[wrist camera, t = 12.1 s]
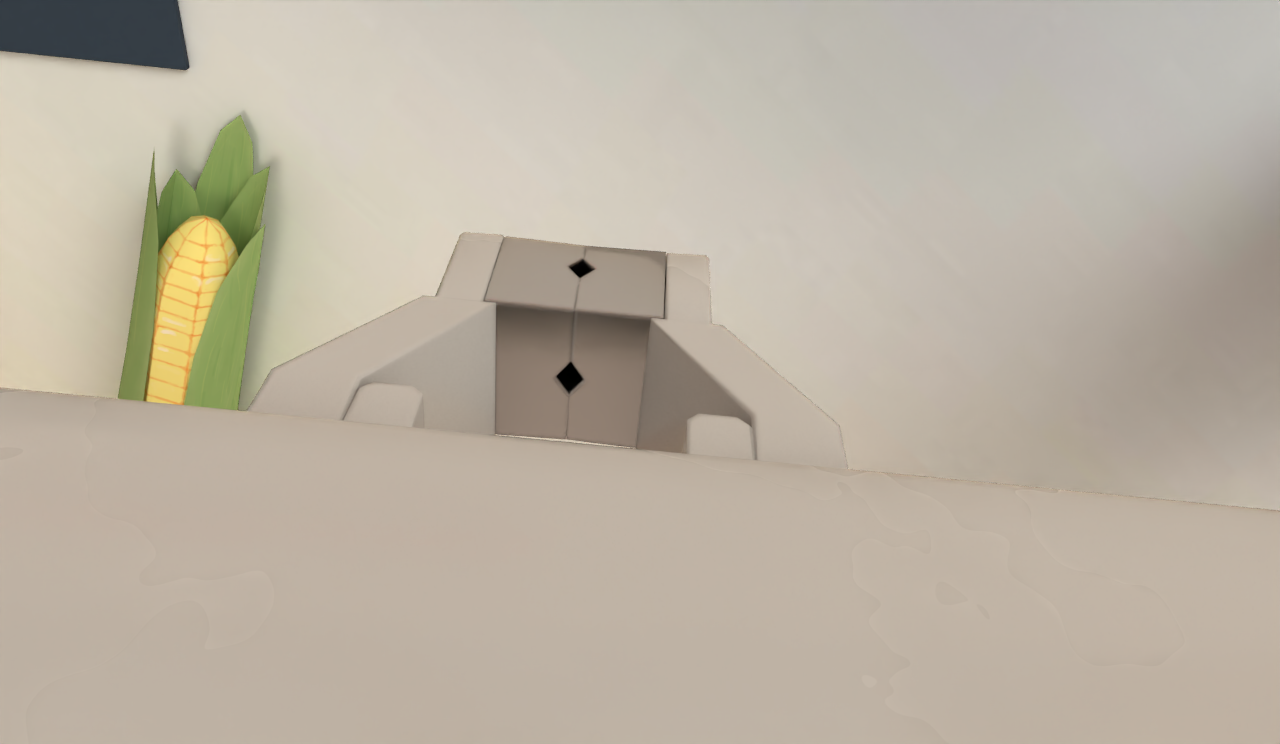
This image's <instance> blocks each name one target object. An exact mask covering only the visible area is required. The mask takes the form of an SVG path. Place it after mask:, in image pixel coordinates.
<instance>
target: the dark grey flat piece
mask: <svg viewBox="0 0 1280 744" xmlns="http://www.w3.org/2000/svg"><path fill="white" fill-rule="evenodd" d="M0 51H9V52H18V53H28V54H37V55H47V56H56V57H66V58H75V59H85V60H94V61H104V62H114V63H123V64H133V65H142V66H152V67H161V68H171V69H180V70H187V69H188V68H189V63H188V58H187V52H186V46H185V41H184V35H183V30H182V24H181V18H180V13H179V7H178V2H177V0H0Z"/></svg>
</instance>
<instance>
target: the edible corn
mask: <svg viewBox="0 0 1280 744" xmlns="http://www.w3.org/2000/svg"><path fill="white" fill-rule="evenodd" d="M269 168H270V166H269V167H268V168H266V169H264V170H262V171H260V172H259V173H257V174H255V175H253V147H252V141H251V139H250V136H249V134H248V132H247V129H246V127H245V125H244V122H243V120H242V118H241V115H240V116H238V117H237V118H236V119H234V120H233V121H232V122H231V123H229V124H228V125H227V126H225V127H224V128H223V129H222V130H221V131H220V133H219V135H218V138H217V140H216V142H215V144H214V147H213V149H212V151H211V153H210V156H209V158H208V160H207V163H206V165H205V167H204V169H203V172H202V174H201V176H200V178H199V181H198V184H197V187H196V190H195V191H194V189H193V188H192V187H191V185H190V184H189V183H188V182H187V181H186V179H185V178H184V177H183V176H182V175H181V173H180V172H179V171H178V170H177V169H176V171H175V172H174V174H173V175H172V177H171V178H170V180H169V182H168V183H167V185H166V186H165V188H164V189H163V191H162V193H161V197H160V201H159V206H158V207H157V195H156V183H155V172H154V153H153V160H152V168H151V176H150V183H149V191H148V198H147V206H146V214H145V221H144V229H143V237H142V244H141V252H140V259H139V267H138V273H137V280H136V287H135V294H134V301H133V307H132V314H131V321H130V328H129V335H128V341H127V348H126V354H125V360H124V366H123V371H122V377H121V382H120V388H119V394H118V399H126V400H137V401H147V402H157V403H168V404H178V405H188V406H199V407H209V408H219V409H230V410H238V404H239V397H240V389H241V382H242V374H243V367H244V360H245V351H246V344H247V337H248V330H249V323H250V317H251V311H252V304H253V298H254V292H255V286H256V281H257V276H258V271H259V264H260V256H261V248H262V242H263V236H264V229H265V224H264V226H263V227H262V228H261V229H260V224H261V218H262V212H263V206H264V199H265V193H266V187H267V181H268V175H269Z"/></svg>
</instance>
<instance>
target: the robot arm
mask: <svg viewBox="0 0 1280 744" xmlns="http://www.w3.org/2000/svg"><path fill="white" fill-rule="evenodd" d="M495 434H498V435H495ZM499 435H513V436H527V437H541V438H555V439H568V440H576V441H584V442H592V443H600V444H609V445H617V446H625V447H633V448H636V449H633V448H623V447H613V446H602V445H592V444H582V443H571V442H561V441H550V440H540V439H530V438H519V437H509V436H499ZM0 744H1280V511H1279V510H1269V509H1258V508H1248V507H1238V506H1227V505H1217V504H1206V503H1196V502H1186V501H1175V500H1165V499H1154V498H1144V497H1134V496H1123V495H1113V494H1102V493H1092V492H1081V491H1071V490H1061V489H1050V488H1040V487H1029V486H1019V485H1009V484H998V483H988V482H977V481H967V480H957V479H946V478H936V477H925V476H915V475H904V474H894V473H884V472H873V471H863V470H852V469H848V465H847V460H846V455H845V450H844V445H843V440H842V435H841V431H840V426H839V425H838V424H837V423H836V422H835V421H834V420H833V419H831V418H830V417H829V416H828V415H827V414H826V413H824V412H823V411H822V410H821V409H820V408H819V407H817V406H816V405H815V404H814V403H813V402H812V401H810V400H809V399H808V398H807V397H806V396H805V395H803V394H802V393H801V392H800V391H799V390H798V389H796V388H795V387H794V386H793V385H792V384H791V383H790V382H788V381H787V380H786V379H785V378H784V377H783V376H781V375H780V374H779V373H778V372H777V371H776V370H774V369H773V368H772V367H771V366H770V365H769V364H767V363H766V362H765V361H764V360H763V359H762V358H760V357H759V356H758V355H757V354H756V353H755V352H753V351H752V350H751V349H750V348H749V347H748V346H746V345H745V344H744V343H743V342H742V341H741V340H739V339H738V338H737V337H736V336H735V335H734V334H732V333H731V332H730V331H729V330H728V329H727V328H725V327H724V326H723V325H716V324H712V313H711V289H710V266H709V258H708V257H707V256H706V255H692V254H674V253H667V254H666V252H659V251H646V250H633V249H620V248H607V247H594V246H584V245H576V244H567V243H559V242H551V241H542V240H534V239H525V238H517V237H509V236H506V237H504V236H503V235H498V234H484V233H470V232H464V233H462V234H461V235H460V236H459V239H458V241H457V244H456V246H455V249H454V251H453V254H452V256H451V259H450V261H449V264H448V266H447V269H446V271H445V273H444V276H443V278H442V281H441V283H440V286H439V288H438V291H437V293H436V296H435V297H434V296H422V297H420V298H418V299H416V300H414V301H411V302H409V303H407V304H405V305H403V306H401V307H399V308H397V309H395V310H393V311H391V312H389V313H387V314H385V315H383V316H380V317H378V318H376V319H374V320H372V321H370V322H368V323H366V324H364V325H362V326H360V327H358V328H356V329H354V330H352V331H350V332H347V333H345V334H343V335H341V336H339V337H337V338H335V339H333V340H331V341H329V342H327V343H325V344H323V345H321V346H319V347H316V348H314V349H312V350H310V351H308V352H306V353H304V354H302V355H300V356H298V357H296V358H294V359H292V360H290V361H288V362H285V363H283V364H281V365H279V366H277V367H275V368H273V369H271V371H270V373H269V374H268V376H267V378H266V379H265V381H264V383H263V384H262V386H261V388H260V389H259V391H258V393H257V394H256V396H255V398H254V399H253V401H252V403H251V404H250V406H249V408H248V409H247V411H240V410H230V409H219V408H209V407H199V406H188V405H178V404H168V403H157V402H147V401H137V400H126V399H116V398H105V397H95V396H84V395H73V394H63V393H52V392H42V391H31V390H21V389H10V388H0Z"/></svg>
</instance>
